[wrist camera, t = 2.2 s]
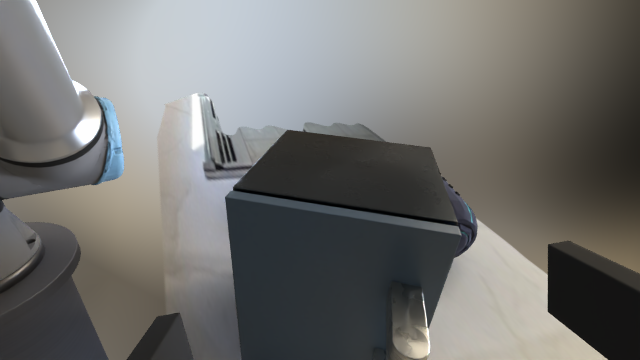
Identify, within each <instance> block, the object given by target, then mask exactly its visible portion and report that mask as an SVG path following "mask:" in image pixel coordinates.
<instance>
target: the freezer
mask: <svg viewBox="0 0 640 360" xmlns="http://www.w3.org/2000/svg"><path fill="white" fill-rule="evenodd" d="M233 191H237V192H243V193H250V194H256V195H262V196H269V197H275V198H281V199H287V200H294V201H300V202H306V203H313V204H319V205H325V206H332V207H338V208H344V209H351V210H357V211H363V212H370V213H376V214H382V215H389V216H395V217H401V218H407V219H414V220H420V221H426V222H433V223H439V224H445V225H452V226H457V224H458V221H457V218H456V215H455V213H454V210H453V207H452V204H451V202H450V199H449V196H448V193H447V191H446V188H445V185H444V183H443V180H442V177H441V174H440V172H439V169H438V166H437V163H436V161H435V158H434V155H433V152H432V150H431V148H430V147H421V146H413V145H405V144H397V143H389V142H381V141H373V140H365V139H357V138H349V137H341V136H333V135H325V134H317V133H309V132H301V131H293V130H287V131H286V132H285V133H284V134H283V135H282V136H281V137H280V138H279V139H278V140H277V141H276V142H275V143H274V144H273V145H272V146H271V147H270V149H269V150H268V151H267V152H266V153H265V154H264V155H263V156H262V157H261V158H260V159H259V160H258V161H257V162H256V163H255V164H254V165H253V166H252V168H251V169H250V170H249V171H248V172H247V173H246V174H245V175H244V176H243V177H242V178H241V179H240V180H239V181H238V182H237V183H236V184H235V185H234V187H233Z"/></svg>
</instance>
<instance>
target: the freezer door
mask: <svg viewBox="0 0 640 360" xmlns="http://www.w3.org/2000/svg"><path fill="white" fill-rule="evenodd" d="M225 200H226V210H227V220H228V230H229V240H230V250H231V260H232V269H233V279H234V289H235V299H236V309H237V319H238V329H239V339H240V348H241V358H242V360H427V358H428V355H429V353H430V342H429V334H428V329H429V326H430V323H431V321H432V318H433V315H434V312H435V309H436V306H437V304H438V301H439V298H440V295H441V292H442V290H443V287H444V284H445V281H446V278H447V275H448V273H449V270H450V267H451V264H452V261H453V259H454V256H455V253H456V250H457V247H458V244H459V242H460V239H461V236H462V235H461V232H460V229H459V227H458V226H452V225H445V224H439V223H433V222H426V221H420V220H414V219H407V218H401V217H395V216H389V215H382V214H376V213H370V212H363V211H357V210H351V209H344V208H338V207H332V206H325V205H319V204H313V203H306V202H300V201H294V200H287V199H281V198H275V197H269V196H262V195H256V194H250V193H243V192H237V191H230V193H229V194H228V195H227V196H226V197H225Z"/></svg>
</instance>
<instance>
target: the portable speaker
mask: <svg viewBox="0 0 640 360" xmlns="http://www.w3.org/2000/svg"><path fill="white" fill-rule="evenodd" d="M440 174H441V173H440ZM441 177H442V176H441ZM442 180H443V183H444V185H445V188H446V191H447V193H448V196H449V199H450V202H451V204H452V207H453V210H454V213H455V215H456V218H457V221H458V224H457V226H458V227H459V229H460V232H461V235H462V236H461V239H460V242H459V244H458V247H457V250H456V253H455V256H454V258H455V257H457V256H459V255H461V254H462V253H463V252H465V251H466V250H468V248H469V247H470V246H471V245H472V244H473V243H474V241H475V238H476V236H477V221H476V217H475V215H474V213H473V211H472V209H471V208H470V207H469V206H468V205H467V204H466V203H465V201H463V199H462V198H461V197H460V194H459V193H458V192H455V191H454V189H453V187H452V186H451V185H450V184H448V183H447V182H446V181H447V180H446V179H445V178H444V177H442Z"/></svg>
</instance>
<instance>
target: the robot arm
mask: <svg viewBox="0 0 640 360" xmlns="http://www.w3.org/2000/svg"><path fill="white" fill-rule="evenodd" d="M123 171H124V157H123V151H122V143H121V136H120V130H119V126H118V121H117V116H116V113H115V109H114V106H113V104H112V103H111V101H110V100H108V99H107V98H99V97H96V96H93V95H92V94H91V93H90V92H89V91H88V90H87V89H86V88H84V87H83V86H81V85H80V84H79V83H77V82H75V81H73V80H71V78H70V76H69V73H68V71H67V69H66V67H65V64H64V62H63V60H62V58H61V56H60V53H59V51H58V49H57V47H56V45H55V42H54V40H53V38H52V36H51V33H50V31H49V29H48V27H47V24H46V22H45V20H44V18H43V16H42V13H41V11H40V9H39V7H38V4H37V2H36V0H0V293H2V292H4V291H6V290H7V289H9V288H11V287H12V286H14V285H15V284H17V283H18V282H20V281H21V280H23V279H24V278H25V277H26V276H28V275H29V274H30V273H31V272H32V271H33V270H34V269H35V268H36V267H37V266H38V265H39V263H40V262H41V260H42V259H43V256H44V253H45V247H44V245H43V243H42V241H41V239H40V237H39V235H38V234H37V233H36V232H35V231H33V230H32V229H31V228H30V227H29V226H27V225H26V224H25V223H24V222H23V221H21V220H20V219H19V218H18V217H17V216H15V215H14V214H13V213H12V212H10V211H9V210H8V209H7V208H6V207H5V205H4V203H3V202H2V200H4V199H9V198H14V197H21V196H26V195H32V194H38V193H43V192H50V191H55V190H61V189H67V188H73V187H79V186H84V185H90V184H91V185H97V184H100V183H102V182H105V181H110V180H114V179H117V178H119V177H120V176H121V175H122V173H123ZM548 312H549V313H550V314H551V315H553V316H554V317H555V318H556V319H558V320H559V321H560V322H561V323H563V324H564V325H565V326H566V327H568V328H569V329H570V330H571V331H573V332H574V333H575V334H576V335H578V336H579V337H580V338H582V339H583V340H584V341H585V342H587V343H588V344H589V345H590V346H592V347H593V348H594V349H595V350H597V351H598V352H599V353H600V354H602V355H603V356H604V357H605V358H607V359H608V360H640V274H639V273H637V272H635V271H633V270H631V269H628V268H626V267H624V266H622V265H620V264H618V263H616V262H613V261H611V260H609V259H607V258H605V257H603V256H600V255H598V254H596V253H594V252H592V251H590V250H588V249H585V248H583V247H581V246H579V245H577V244H575V243H573V242H571V241H564V242H559V243H553V244H548ZM127 360H194V358H193V355H192V352H191V349H190V345H189V342H188V339H187V336H186V332H185V329H184V326H183V322H182V319H181V316H180V313H175V314H169V315H164V316H158V317H157V318H156V319H155V320H154V322H153V324H152V325H151V326H150V328H149V329H148V330H147V332H146V333H145V335H144V336H143V337H142V339H141V340H140V342H139V343H138V344H137V346H136V347H135V349H134V350H133V352H132V353H131V354H130V356H129V357H128V359H127Z"/></svg>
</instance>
